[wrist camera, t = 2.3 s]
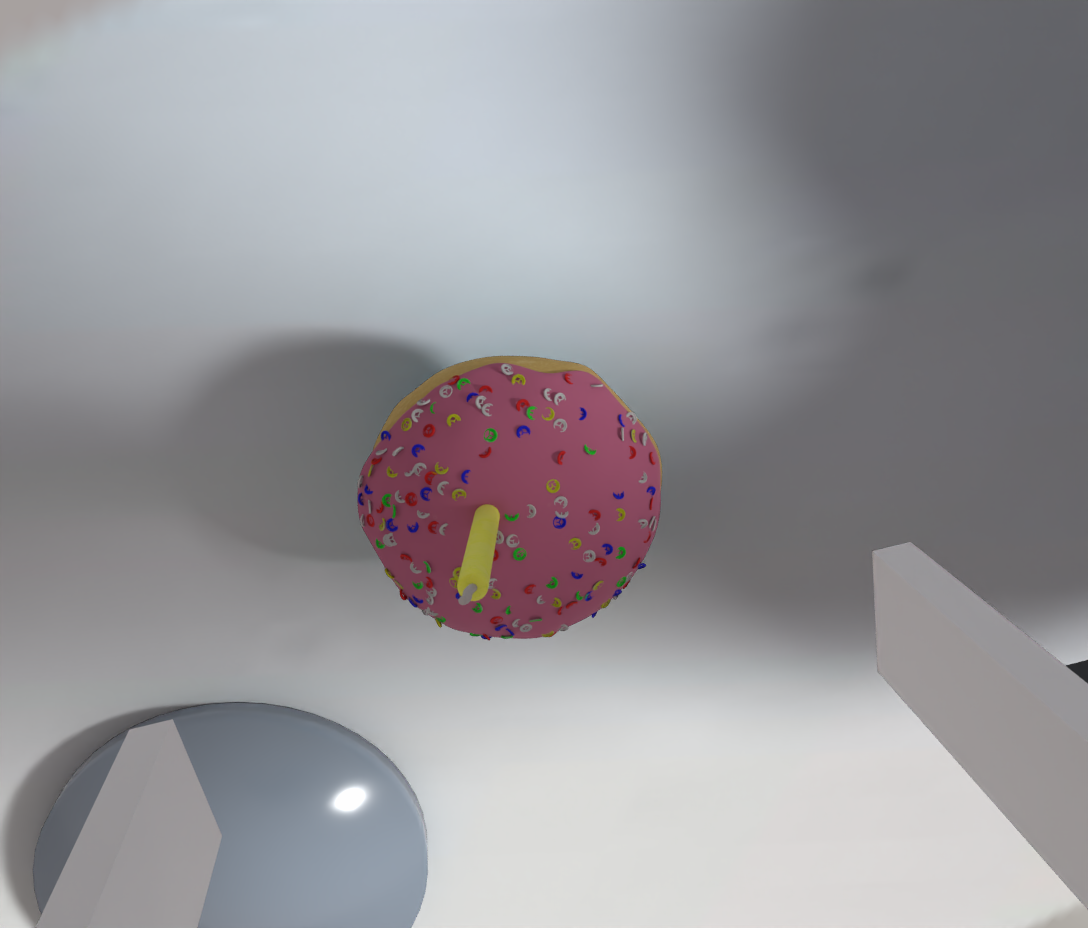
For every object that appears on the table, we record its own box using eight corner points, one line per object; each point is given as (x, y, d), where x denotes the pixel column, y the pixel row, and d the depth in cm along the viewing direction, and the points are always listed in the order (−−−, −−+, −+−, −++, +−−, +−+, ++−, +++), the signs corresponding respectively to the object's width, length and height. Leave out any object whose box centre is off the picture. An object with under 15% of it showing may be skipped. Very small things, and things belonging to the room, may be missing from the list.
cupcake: (326, 497, 29) (263, 726, 17) (450, 270, 27) (469, 366, 15) (547, 600, 31) (616, 858, 20) (676, 399, 29) (833, 563, 18)
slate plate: (154, 640, 30) (143, 659, 28) (495, 795, 34) (498, 817, 33) (-18, 919, 33) (-33, 947, 31) (315, 1029, 37) (311, 1057, 36)
